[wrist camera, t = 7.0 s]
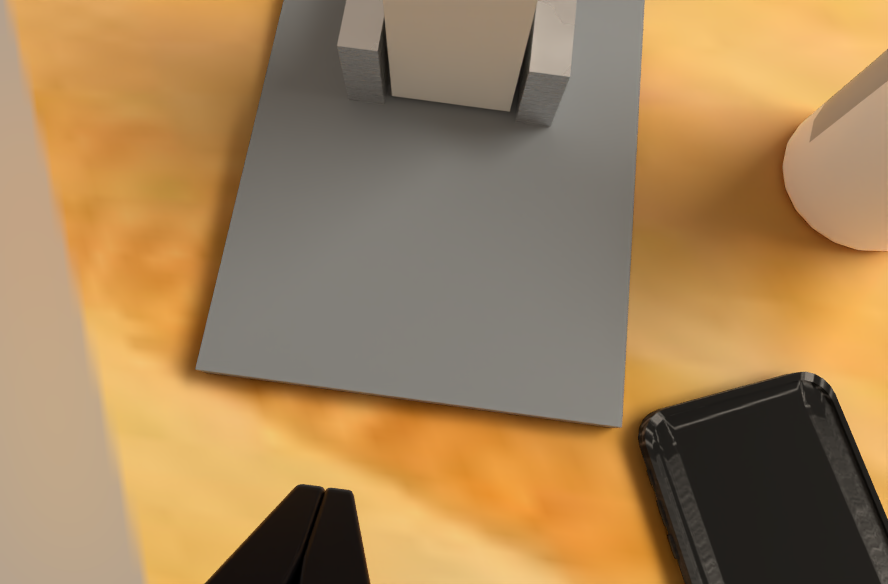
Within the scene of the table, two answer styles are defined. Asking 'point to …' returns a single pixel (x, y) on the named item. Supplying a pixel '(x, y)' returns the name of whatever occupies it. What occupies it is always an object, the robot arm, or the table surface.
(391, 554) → the table surface
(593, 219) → the base board
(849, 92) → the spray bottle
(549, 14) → the friction collar
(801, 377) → the phone
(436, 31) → the tall rectangular pillar
